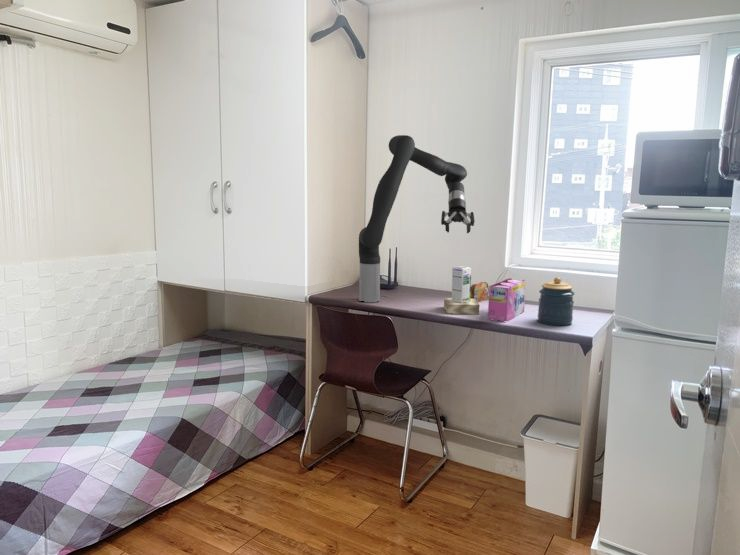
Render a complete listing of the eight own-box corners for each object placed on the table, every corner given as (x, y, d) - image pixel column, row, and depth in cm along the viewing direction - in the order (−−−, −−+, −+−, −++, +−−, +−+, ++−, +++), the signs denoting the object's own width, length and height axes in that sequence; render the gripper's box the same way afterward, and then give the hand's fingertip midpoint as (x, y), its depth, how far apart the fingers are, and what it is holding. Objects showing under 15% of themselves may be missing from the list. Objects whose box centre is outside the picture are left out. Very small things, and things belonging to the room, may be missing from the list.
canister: (543, 326, 209) (546, 279, 206) (533, 318, 222) (535, 274, 219) (577, 326, 209) (581, 280, 206) (565, 318, 222) (568, 274, 219)
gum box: (507, 308, 238) (509, 277, 236) (525, 311, 234) (527, 279, 232) (487, 319, 218) (488, 285, 216) (506, 322, 214) (508, 287, 212)
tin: (474, 303, 248) (475, 285, 246) (467, 302, 249) (468, 284, 248) (489, 298, 259) (489, 281, 258) (482, 297, 261) (483, 280, 260)
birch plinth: (447, 313, 227) (447, 304, 226) (443, 307, 240) (444, 298, 239) (479, 314, 226) (479, 304, 226) (474, 307, 239) (474, 298, 239)
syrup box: (461, 303, 229) (463, 268, 226) (450, 300, 233) (452, 266, 231) (470, 301, 232) (472, 267, 230) (459, 299, 237) (461, 265, 234)
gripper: (441, 196, 245) (442, 225, 236) (474, 198, 244) (476, 227, 236) (440, 207, 251) (440, 236, 242) (471, 209, 251) (473, 237, 242)
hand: (458, 231), depth 239 cm, fingers open, 8 cm apart
